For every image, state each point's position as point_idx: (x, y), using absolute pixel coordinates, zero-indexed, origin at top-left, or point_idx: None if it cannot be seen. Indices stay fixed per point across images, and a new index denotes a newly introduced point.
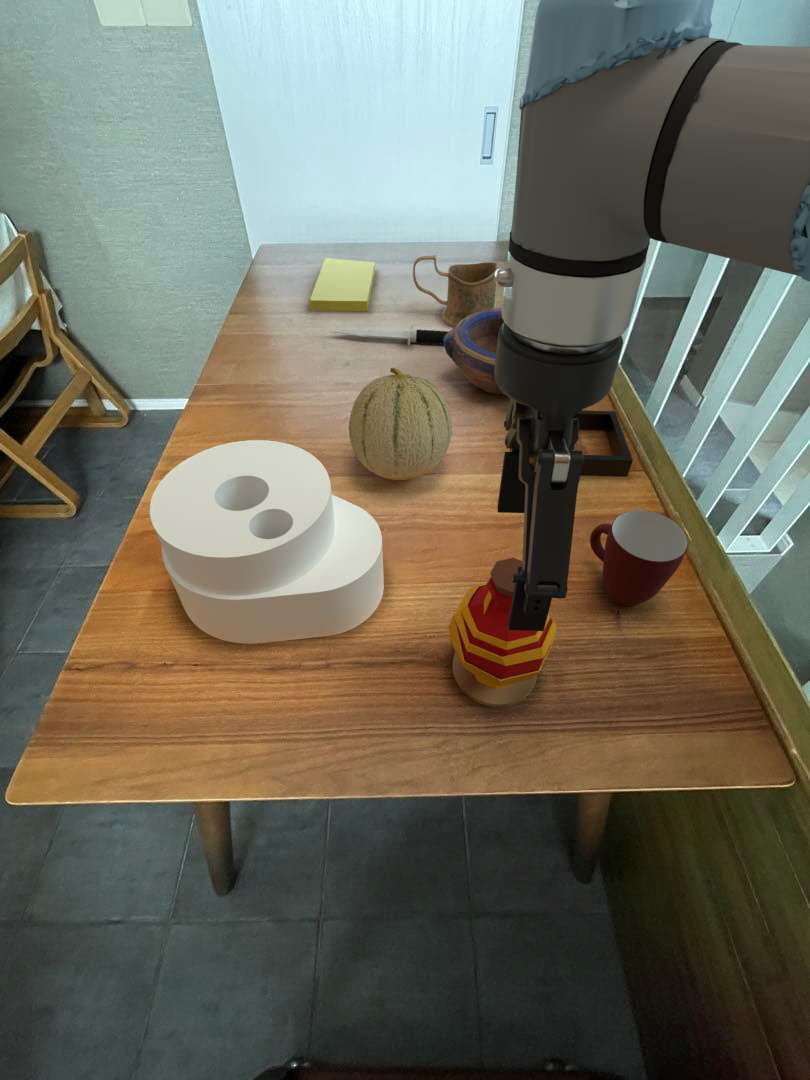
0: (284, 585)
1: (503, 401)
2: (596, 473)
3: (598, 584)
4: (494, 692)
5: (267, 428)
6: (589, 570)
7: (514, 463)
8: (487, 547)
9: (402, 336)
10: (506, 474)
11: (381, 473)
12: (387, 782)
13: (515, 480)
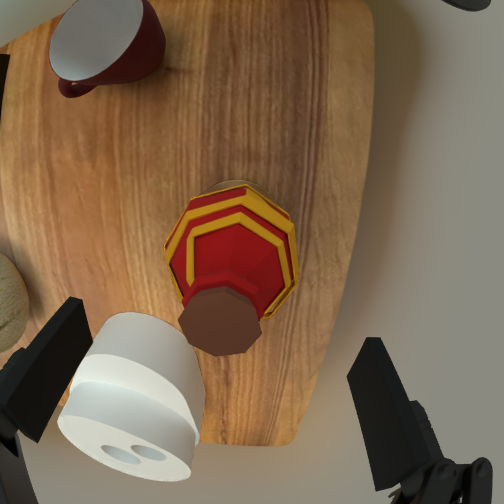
0: (182, 417)
1: None
2: (2, 84)
3: (126, 84)
4: None
5: None
6: (107, 92)
7: (34, 420)
8: (77, 206)
9: None
10: (51, 406)
11: (28, 312)
12: (331, 322)
13: (51, 382)
